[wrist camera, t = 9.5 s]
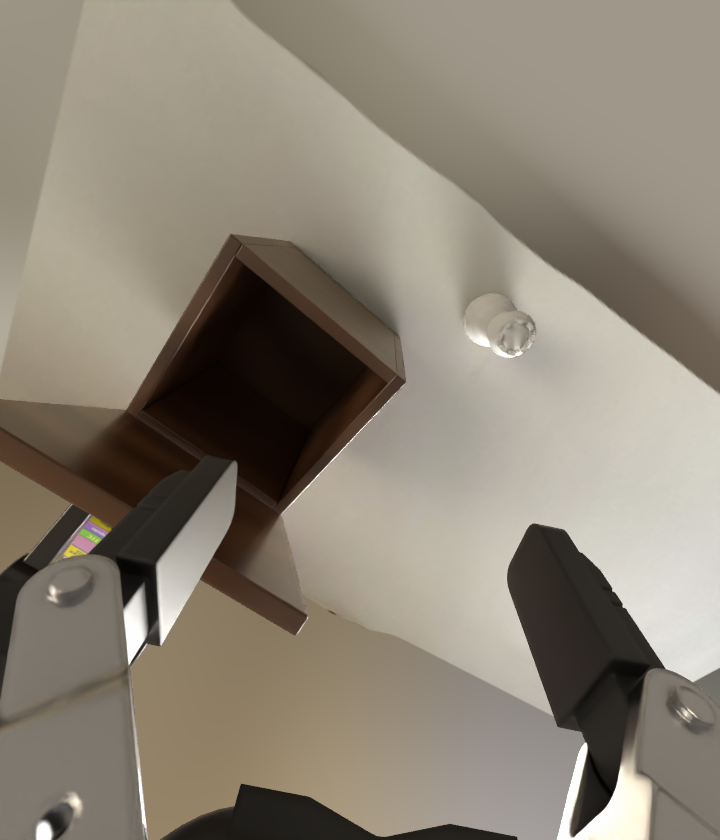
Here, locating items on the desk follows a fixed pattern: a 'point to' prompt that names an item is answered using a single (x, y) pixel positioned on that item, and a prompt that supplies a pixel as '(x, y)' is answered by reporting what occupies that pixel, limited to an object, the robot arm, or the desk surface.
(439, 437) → the desk surface
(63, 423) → the lid
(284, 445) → the chest
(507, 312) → the rook chess piece
